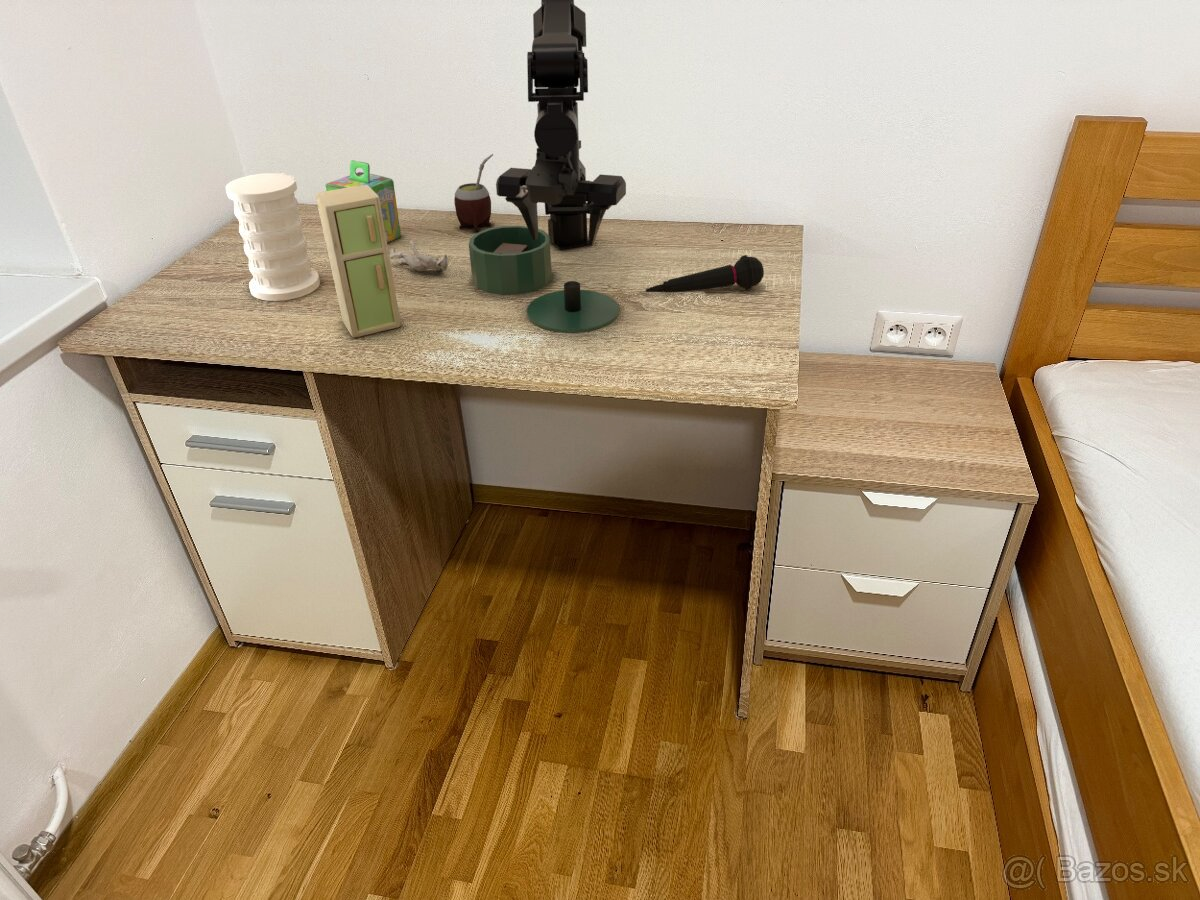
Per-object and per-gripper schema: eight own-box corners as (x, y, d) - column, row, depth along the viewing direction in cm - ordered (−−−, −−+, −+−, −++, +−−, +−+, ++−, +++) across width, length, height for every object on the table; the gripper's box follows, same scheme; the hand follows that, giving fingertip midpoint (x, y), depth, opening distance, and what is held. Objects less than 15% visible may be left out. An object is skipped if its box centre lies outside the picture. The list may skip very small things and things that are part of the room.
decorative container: (278, 270, 156) (254, 169, 146) (333, 277, 153) (312, 175, 142) (236, 295, 147) (207, 191, 137) (293, 304, 144) (267, 198, 133)
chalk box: (334, 243, 166) (319, 166, 157) (368, 228, 172) (355, 153, 164) (369, 252, 162) (355, 173, 153) (403, 237, 168) (391, 160, 160)
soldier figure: (415, 262, 160) (463, 252, 154) (410, 286, 159) (459, 277, 153) (384, 242, 154) (433, 232, 148) (379, 267, 153) (428, 258, 146)
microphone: (650, 314, 145) (766, 293, 145) (648, 289, 140) (768, 267, 141) (644, 292, 148) (757, 271, 149) (642, 267, 144) (759, 245, 144)
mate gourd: (455, 222, 174) (447, 147, 166) (494, 219, 176) (488, 143, 167) (459, 235, 168) (451, 157, 160) (499, 231, 170) (493, 154, 161)
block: (505, 272, 152) (502, 242, 149) (529, 274, 151) (527, 245, 148) (495, 282, 149) (492, 252, 146) (520, 285, 147) (518, 255, 144)
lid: (595, 289, 147) (594, 259, 144) (635, 323, 136) (635, 292, 133) (513, 306, 142) (511, 276, 139) (548, 344, 131) (546, 312, 128)
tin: (534, 260, 158) (532, 220, 153) (564, 288, 147) (562, 246, 143) (463, 274, 153) (458, 233, 149) (488, 303, 143) (484, 261, 138)
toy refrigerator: (352, 341, 133) (325, 207, 121) (341, 322, 138) (314, 192, 126) (403, 329, 136) (381, 197, 124) (390, 311, 141) (368, 183, 129)
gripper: (476, 148, 120) (486, 254, 129) (604, 157, 116) (605, 267, 124) (506, 128, 129) (514, 229, 138) (627, 135, 124) (626, 240, 133)
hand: (563, 241), depth 133 cm, fingers open, 9 cm apart
